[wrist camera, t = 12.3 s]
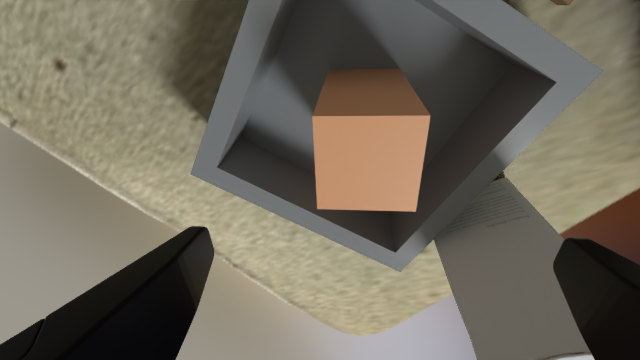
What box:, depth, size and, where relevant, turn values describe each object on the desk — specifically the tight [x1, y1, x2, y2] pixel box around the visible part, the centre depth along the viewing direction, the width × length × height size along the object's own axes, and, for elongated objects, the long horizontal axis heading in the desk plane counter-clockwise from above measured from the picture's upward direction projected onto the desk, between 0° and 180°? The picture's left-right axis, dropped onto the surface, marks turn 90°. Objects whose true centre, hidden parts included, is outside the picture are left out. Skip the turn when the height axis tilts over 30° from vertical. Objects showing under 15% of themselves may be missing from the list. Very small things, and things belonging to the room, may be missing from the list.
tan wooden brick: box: [312, 68, 431, 212], centre depth 15 cm, size 4×4×8 cm
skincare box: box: [434, 178, 595, 360], centre depth 17 cm, size 6×4×12 cm
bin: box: [191, 0, 604, 272], centre depth 17 cm, size 14×14×5 cm
